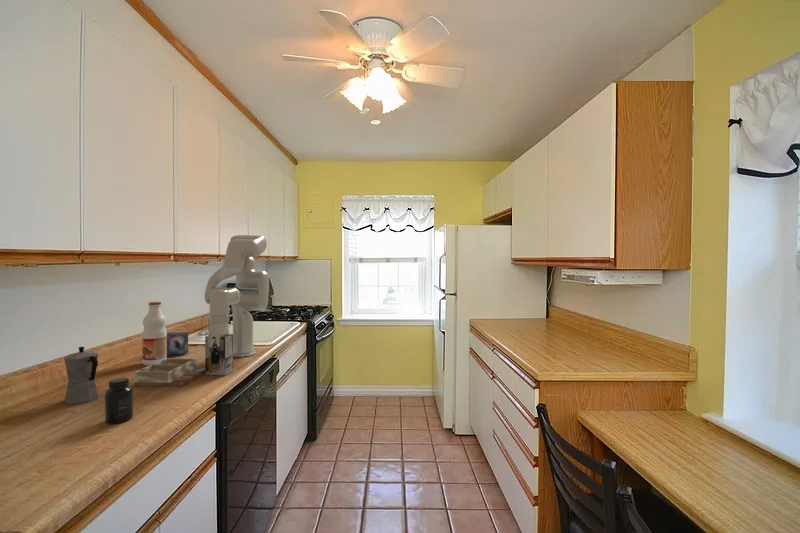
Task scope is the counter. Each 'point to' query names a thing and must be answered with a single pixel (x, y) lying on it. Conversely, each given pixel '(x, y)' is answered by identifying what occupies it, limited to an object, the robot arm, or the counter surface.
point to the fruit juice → (154, 335)
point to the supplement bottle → (118, 401)
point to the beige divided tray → (169, 373)
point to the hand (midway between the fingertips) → (219, 360)
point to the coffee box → (220, 357)
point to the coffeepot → (81, 377)
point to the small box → (177, 343)
